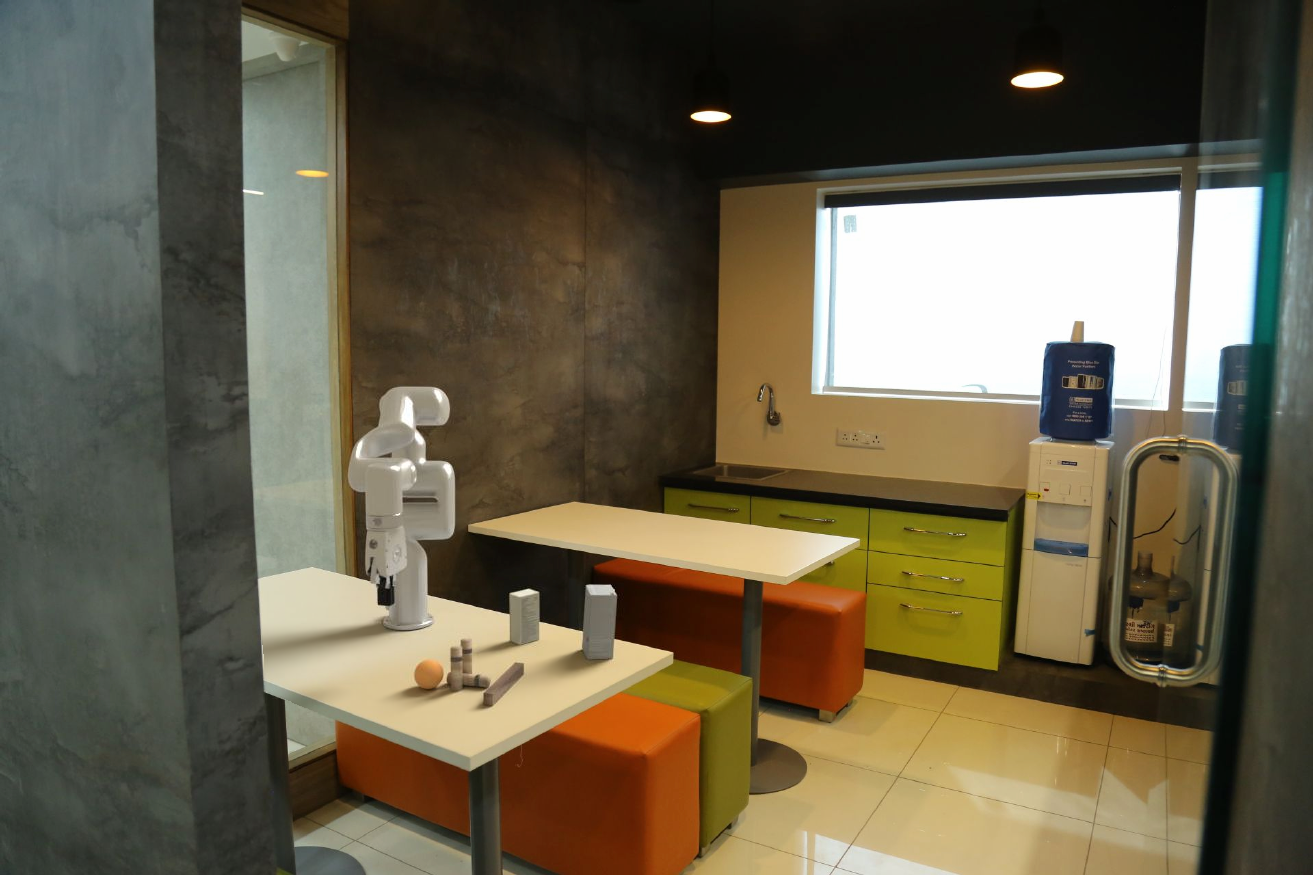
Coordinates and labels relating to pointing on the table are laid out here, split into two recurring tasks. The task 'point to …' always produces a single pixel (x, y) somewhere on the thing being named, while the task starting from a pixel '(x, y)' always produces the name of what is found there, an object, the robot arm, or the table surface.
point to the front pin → (472, 680)
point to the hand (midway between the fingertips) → (386, 604)
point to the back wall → (503, 684)
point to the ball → (428, 674)
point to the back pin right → (456, 668)
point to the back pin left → (466, 655)
